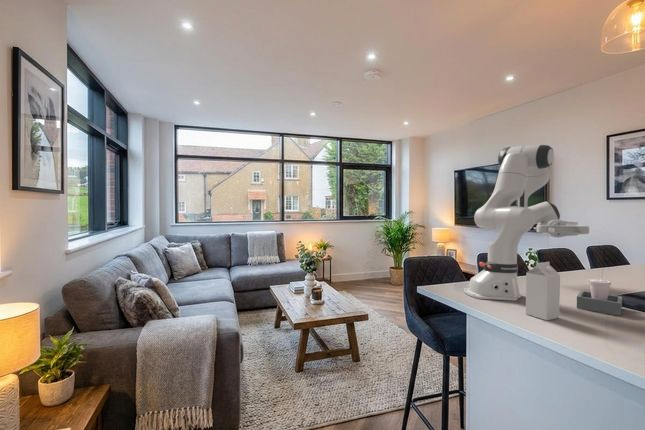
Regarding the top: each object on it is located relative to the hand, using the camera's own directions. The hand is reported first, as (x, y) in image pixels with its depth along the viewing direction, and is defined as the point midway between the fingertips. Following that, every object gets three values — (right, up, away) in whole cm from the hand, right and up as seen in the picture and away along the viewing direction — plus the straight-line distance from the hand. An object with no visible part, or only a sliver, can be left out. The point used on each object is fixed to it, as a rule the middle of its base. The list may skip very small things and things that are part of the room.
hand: (568, 230), depth 140 cm
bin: (-7, -28, -24) cm, 38 cm away
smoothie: (-7, -28, -24) cm, 37 cm away
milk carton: (-35, -29, -32) cm, 56 cm away
